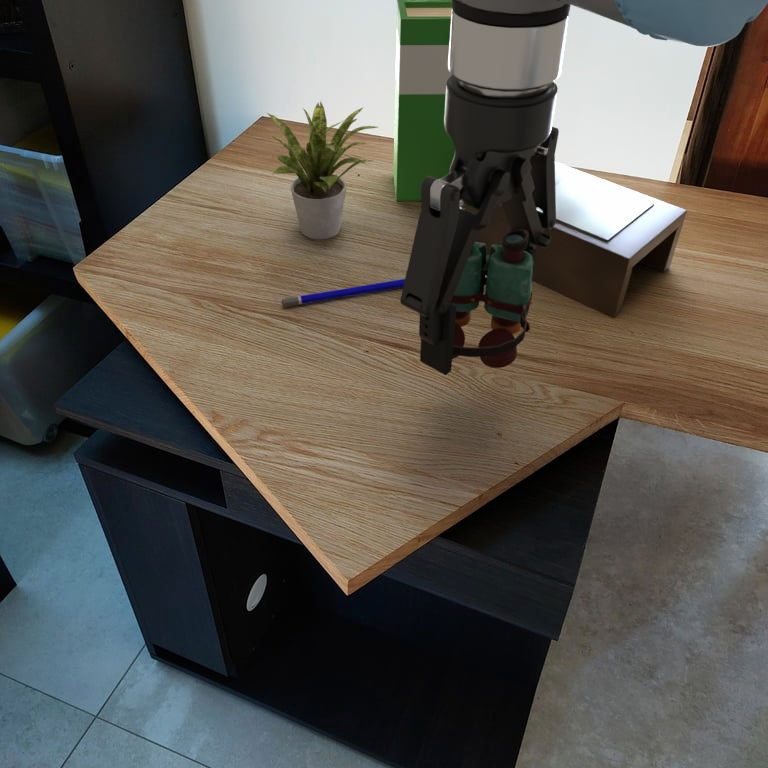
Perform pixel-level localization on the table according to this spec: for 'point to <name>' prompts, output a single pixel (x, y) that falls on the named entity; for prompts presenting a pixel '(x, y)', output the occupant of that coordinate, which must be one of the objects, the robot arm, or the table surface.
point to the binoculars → (495, 298)
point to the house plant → (318, 173)
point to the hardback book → (421, 95)
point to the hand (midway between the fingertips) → (475, 335)
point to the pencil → (342, 292)
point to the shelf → (597, 238)
